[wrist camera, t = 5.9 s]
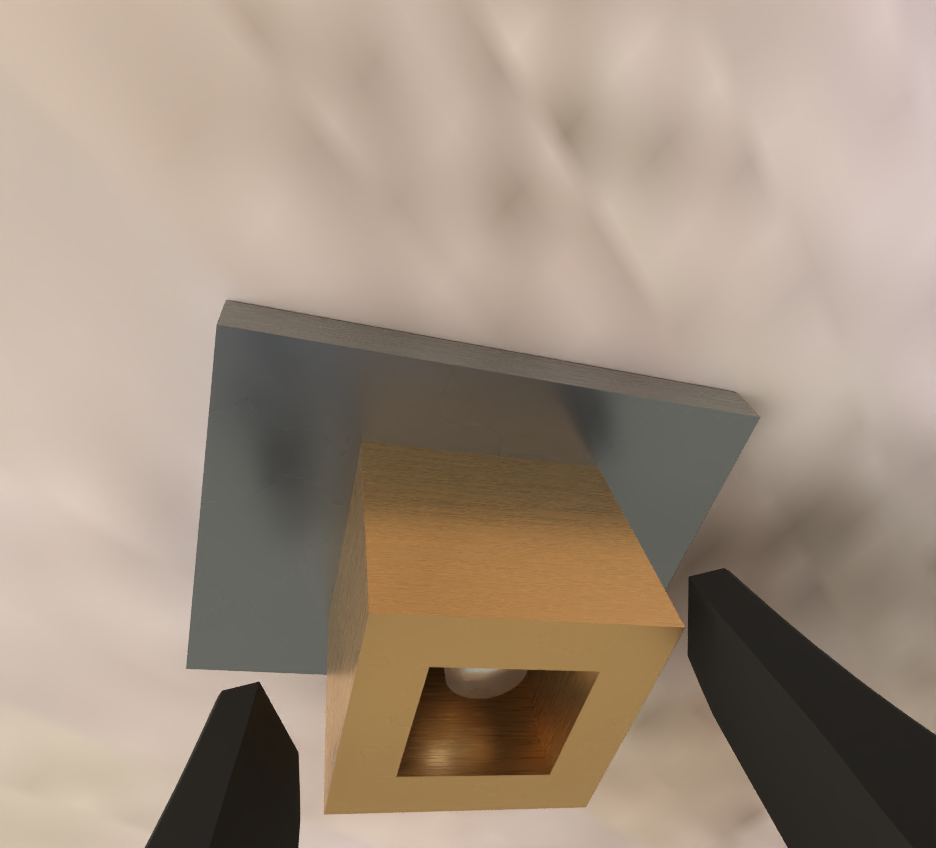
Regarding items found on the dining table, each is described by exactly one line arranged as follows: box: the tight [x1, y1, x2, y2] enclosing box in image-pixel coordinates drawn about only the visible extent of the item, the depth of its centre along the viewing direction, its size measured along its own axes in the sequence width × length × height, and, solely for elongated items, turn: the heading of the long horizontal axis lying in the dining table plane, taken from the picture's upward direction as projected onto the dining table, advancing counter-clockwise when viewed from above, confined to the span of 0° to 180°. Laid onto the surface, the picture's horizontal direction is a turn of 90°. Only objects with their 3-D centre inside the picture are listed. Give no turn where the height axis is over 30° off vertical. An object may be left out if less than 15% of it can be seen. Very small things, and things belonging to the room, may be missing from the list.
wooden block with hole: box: [324, 441, 685, 814], centre depth 12 cm, size 5×5×4 cm
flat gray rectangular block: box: [186, 300, 760, 699], centre depth 13 cm, size 10×8×4 cm
